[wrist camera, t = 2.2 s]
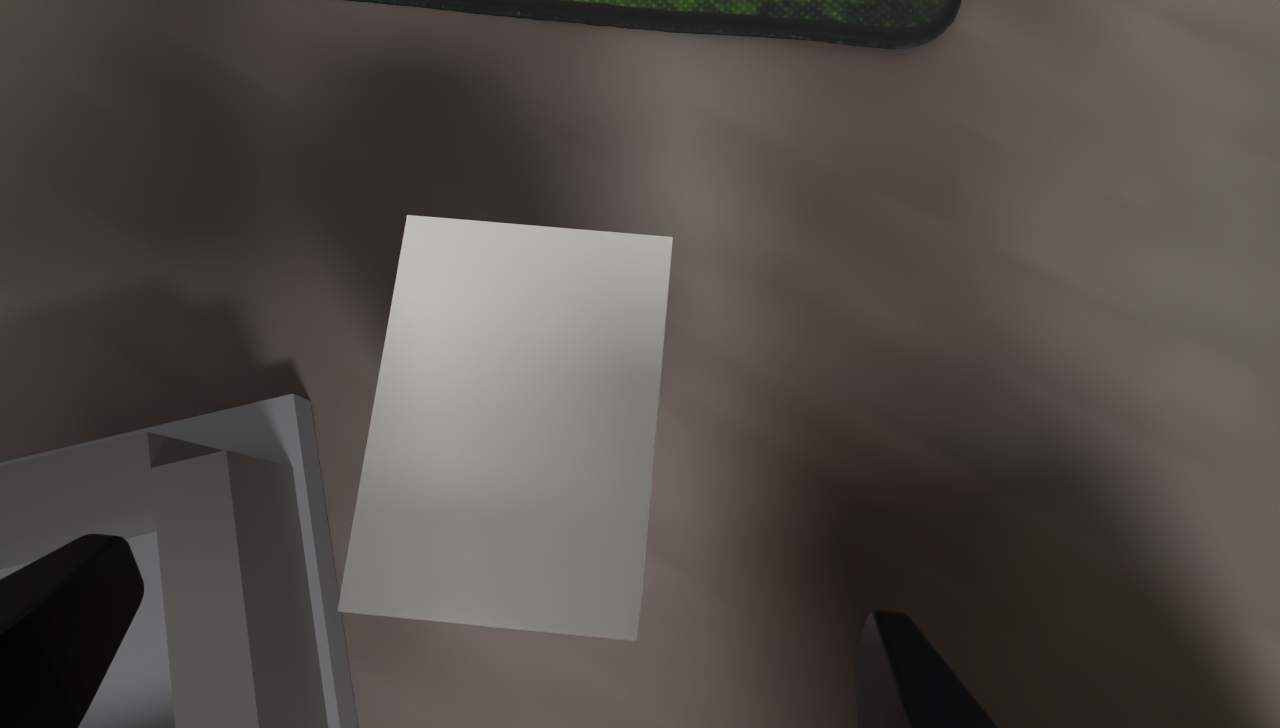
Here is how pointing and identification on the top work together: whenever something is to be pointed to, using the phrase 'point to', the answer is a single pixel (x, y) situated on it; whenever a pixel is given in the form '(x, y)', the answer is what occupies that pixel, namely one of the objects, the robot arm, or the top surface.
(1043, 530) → the top surface
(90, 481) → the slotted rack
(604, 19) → the mouse mat
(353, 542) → the plain light grey box
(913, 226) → the top surface
